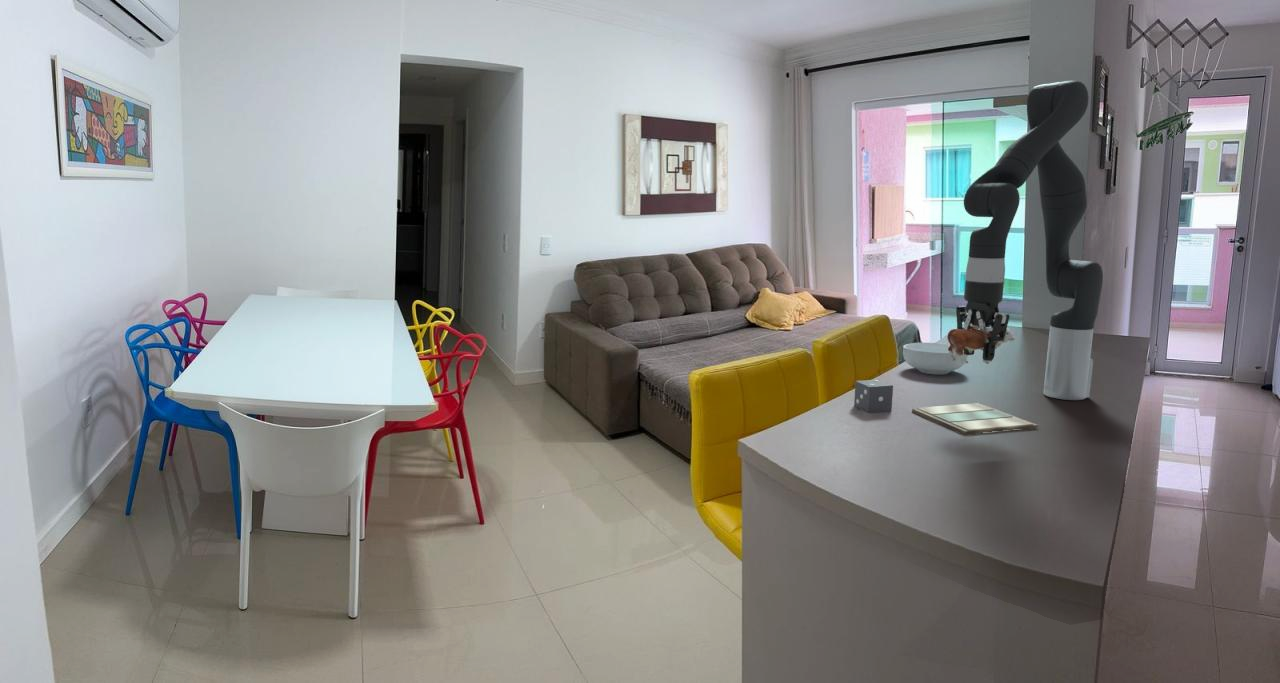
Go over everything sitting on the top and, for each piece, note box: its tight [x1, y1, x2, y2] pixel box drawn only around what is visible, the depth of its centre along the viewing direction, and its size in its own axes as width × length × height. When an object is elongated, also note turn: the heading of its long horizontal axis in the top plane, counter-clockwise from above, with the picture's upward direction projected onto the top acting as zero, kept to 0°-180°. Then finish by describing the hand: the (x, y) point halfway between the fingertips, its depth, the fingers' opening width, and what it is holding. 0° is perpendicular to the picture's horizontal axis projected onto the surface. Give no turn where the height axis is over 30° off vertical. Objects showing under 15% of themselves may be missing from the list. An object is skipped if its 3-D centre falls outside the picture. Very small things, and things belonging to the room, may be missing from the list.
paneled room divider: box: [911, 402, 1039, 436], centre depth 169 cm, size 18×18×1 cm
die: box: [853, 379, 894, 414], centre depth 177 cm, size 6×6×6 cm
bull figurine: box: [947, 327, 1016, 364], centre depth 166 cm, size 4×13×8 cm, turn 79°
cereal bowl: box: [902, 342, 969, 376], centre depth 216 cm, size 17×17×7 cm
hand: (978, 356), depth 167 cm, fingers closed on bull figurine, 5 cm apart
